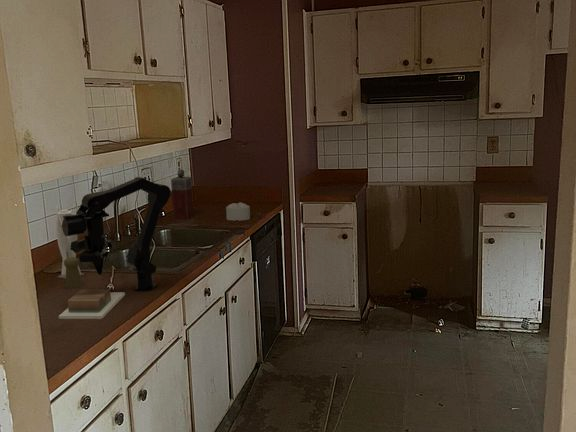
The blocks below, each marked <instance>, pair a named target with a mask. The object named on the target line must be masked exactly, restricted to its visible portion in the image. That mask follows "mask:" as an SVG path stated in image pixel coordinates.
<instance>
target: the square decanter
mask: <svg viewBox="0 0 576 432" xmlns="http://www.w3.org/2000/svg"><path fill="white" fill-rule="evenodd" d="M192 179H193V178H192V176H185V170H184V169H178V171H177V176H176V177H173V178H171V180H170V182H171V183H170V184H171V196H170V198H171V205H172V214H173V215H172V218H173V220H189V219H191V218H194V216H195V215H194V214H195V213H194V198H193V182H192V181H193V180H192Z"/></svg>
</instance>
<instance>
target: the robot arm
mask: <svg viewBox="0 0 576 432" xmlns="http://www.w3.org/2000/svg"><path fill="white" fill-rule="evenodd" d="M140 190H141V191H143V192H145V193H147V203H148V204H147V206H148V207H147V210H146V213H145V216H144V219H143V223H142V226H141V230H140V231H139V235H138V239H137V242H136V244H135V245H134V246H129V247H128V253H127V255H126V256H125V257H126V258H127V259H126V263H127V264H128V266H130V267H131V268H132V271H135V273H136V275H135V276H136V286H135V288H133V290H134V291H152V290H153V289H154V288H155V287H156V286H157V282H154V279H153V278H154V277H153V275H154V273H156V271H157V266H156V265H154V264H153V263H152V262H150V261H151V244H152V240H153V237H154V234H155V231H156V228H157V224H158V221H159V218H160V214H161V211H162V210H163V208H164V207H165V206H166V205H167V204H168V202H169V200H170V198H171V191H172V189H171V188H170V187H169V186H168V185H165V184H160V183H155V182H153V181H151V180H148V179H147V178H146V177H142V176H136V177H134V178H133V179H131V180H128V181H126V182H124V183H121V184H119V185H116V186H113V187H112V188H109V189H108V190H103V191H97V192H91V193H87V194H85V195H83V197H82V200H81V204H80V205H79V207H78V209H77V211H76V212H75V213H76V214H72V215H66V216H63V218H64V220H63V222H62V230H63V233H64V235H65V236H71V235H77V236H78V235H81V234H84V233H85V232H86V235H84V237H83V238H82V239H80V240H78V239H77V240H76V241H73V242H71V246H70V247H71V248H70V249H71V250H72V251H74V253H76V254H77V253H79V252H80V251H83V250H84V251H83V252H82V253H80V254H79V255H78V260H79V263H92V264H93V266H94V268H95V270H96V272H97V275H99V276H100V275H103V272H104V270H105V266H106V264H107V262H108V258H109V257H110V254H111V253H110V252H109V251H106V249H108V248H110V249H111V250H113V249H115V248H116V242H115V240H113V239H106V236H107V235H108V233H107V232H108V231H105V224H104V218H108V217H110V214H109V213H107V212H106V211H105V209H106V208H108V207H109V206H110V204H112V203H113V202H115V201H118V200H120V199H122V198H124V197H126V196H128V195H131V194H134V193H136V192H139V191H140Z"/></svg>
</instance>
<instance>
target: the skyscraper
mask: <svg viewBox="0 0 576 432" xmlns="http://www.w3.org/2000/svg"><path fill="white" fill-rule="evenodd" d="M55 212H56V238H57V239H56V240H57V244H58V249H59V251H60V252H59V253H60V255H61V258H62V262H61V263H62V264H61V274H60V275H58V276H57V278H59V279H64V280H66V267H65V265H64V260H65V259H66V258H69V257H76V256H77V253H74V251H72V250H71V249H70V248H71V247H70V246H71V242H73V241H76V240H77V241H78V234H77V235H71V236H65V235H64V233H63V230H62V222H63V220H64V218H63V216H66V215H73V209H72V208H71V209H70V210H69V209H61V210H59V206H58V205H56V211H55ZM76 258H77V257H76ZM78 269H79V273H80V277H81V276H83V275H85V273H84V272H81V269H80V265H79V264H78Z"/></svg>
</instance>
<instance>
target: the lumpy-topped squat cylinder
mask: <svg viewBox="0 0 576 432" xmlns="http://www.w3.org/2000/svg"><path fill="white" fill-rule="evenodd" d="M250 209H251V207H250V205H247V204H246V203H243V202H237V203H235V202H232V203H230V204H228V205H227V206H226V207H225V210H226V220H227V221H236V220H238V221H247V220H250V219H251V210H250ZM238 221H237V222H238Z"/></svg>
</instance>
